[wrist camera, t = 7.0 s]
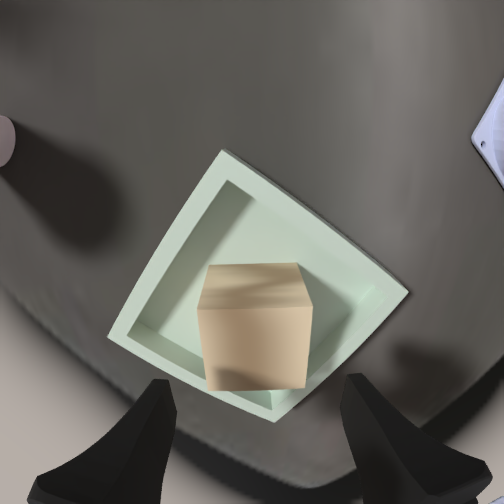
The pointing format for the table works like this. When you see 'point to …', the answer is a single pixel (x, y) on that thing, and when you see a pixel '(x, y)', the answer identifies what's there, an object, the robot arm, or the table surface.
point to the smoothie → (6, 139)
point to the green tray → (253, 252)
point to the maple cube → (254, 327)
